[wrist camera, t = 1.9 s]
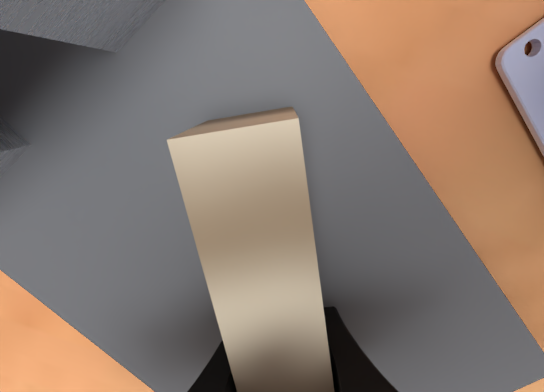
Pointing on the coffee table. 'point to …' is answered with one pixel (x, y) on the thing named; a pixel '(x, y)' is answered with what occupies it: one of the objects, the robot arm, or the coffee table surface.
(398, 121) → the coffee table surface
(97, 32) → the grey rectangular block
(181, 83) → the board
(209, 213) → the slat
